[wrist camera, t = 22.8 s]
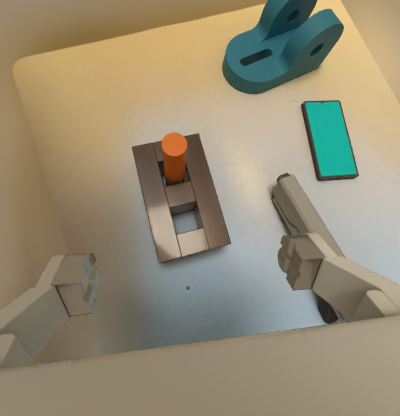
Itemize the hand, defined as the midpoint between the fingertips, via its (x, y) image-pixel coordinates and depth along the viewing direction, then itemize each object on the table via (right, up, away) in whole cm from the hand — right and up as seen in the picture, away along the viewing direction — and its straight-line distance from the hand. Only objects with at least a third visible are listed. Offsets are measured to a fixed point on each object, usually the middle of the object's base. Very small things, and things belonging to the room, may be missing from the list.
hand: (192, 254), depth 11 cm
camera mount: (+13, +30, +37) cm, 49 cm away
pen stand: (-3, +3, +29) cm, 29 cm away
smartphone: (+24, +14, +34) cm, 44 cm away
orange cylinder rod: (-4, +6, +30) cm, 30 cm away
